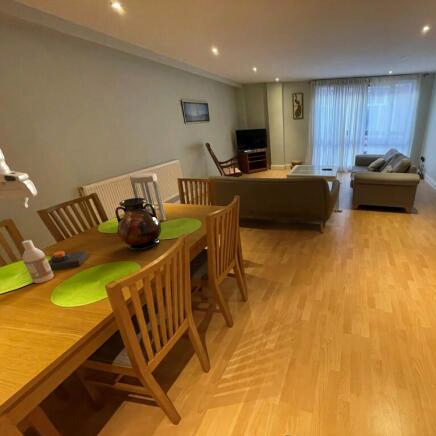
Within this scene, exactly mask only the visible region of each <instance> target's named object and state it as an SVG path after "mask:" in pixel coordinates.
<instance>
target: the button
mask: <svg viewBox="0 0 436 436" xmlns="http://www.w3.org/2000/svg"><path fill="white" fill-rule="evenodd" d="M64 252H65V251H64V250H58V251H56V252H54V253H53V256H54V257H55V258H60V257H63V256H65V253H64Z"/></svg>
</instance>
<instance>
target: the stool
mask: <svg viewBox="0 0 436 436" xmlns="http://www.w3.org/2000/svg"><path fill="white" fill-rule="evenodd" d="M129 181H130V185H131V188H132V192H133V195H134V198H141V194H140V190H139V187H138V184H139V185H140V188H141V191H142V196H143V198H145V199H146V202H145V203H144V205H146V204H152V205H153V206H154V209H155V213H156V217H157V219H158V220H159V216H158V213H157V211H158V212H159V215H160V220H161V221H166V220H167V218H166V214H165V208H164V204H163V199H162V195H161V191H160V186H159V182H158V177H157V174H156V173H154V172H142V173H136V174H132V175H129ZM151 183H152V184H153V189H154V194H155V198H156V203H155V199H154V195H153V190H152V186H151ZM146 210H148V211H149V212H151V213H153V210H152V208H151V207H150V206H146Z"/></svg>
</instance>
